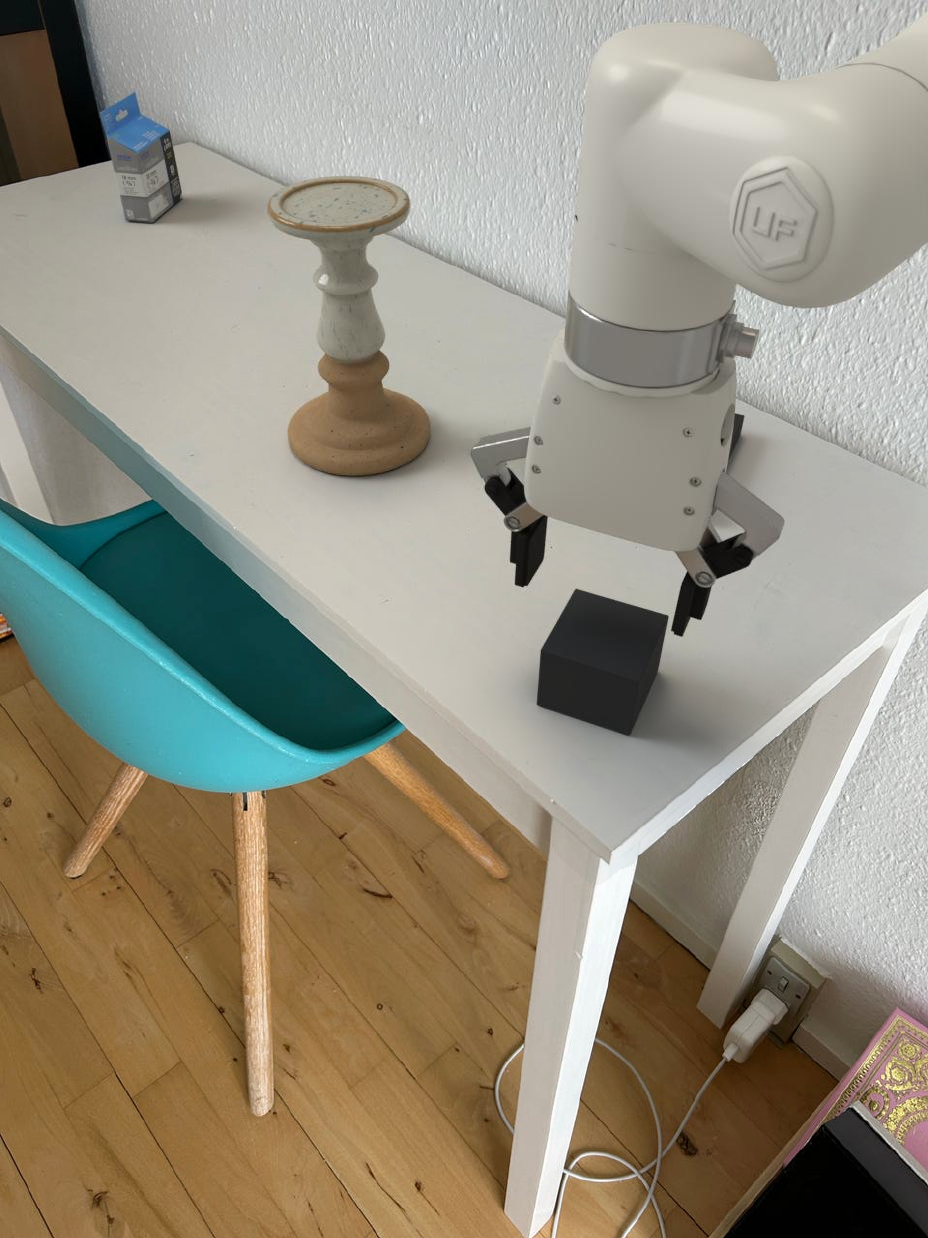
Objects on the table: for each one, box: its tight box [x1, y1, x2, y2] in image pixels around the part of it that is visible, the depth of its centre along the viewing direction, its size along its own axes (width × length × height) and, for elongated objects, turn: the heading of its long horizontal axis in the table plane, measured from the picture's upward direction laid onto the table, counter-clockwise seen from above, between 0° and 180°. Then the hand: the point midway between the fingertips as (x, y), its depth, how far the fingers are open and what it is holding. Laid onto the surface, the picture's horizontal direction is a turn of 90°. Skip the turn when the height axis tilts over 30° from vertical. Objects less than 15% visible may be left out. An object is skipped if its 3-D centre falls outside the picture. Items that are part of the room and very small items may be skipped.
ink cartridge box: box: [99, 91, 184, 224], centre depth 119 cm, size 9×4×12 cm, turn 167°
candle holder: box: [267, 175, 431, 476], centre depth 78 cm, size 12×12×20 cm
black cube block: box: [536, 588, 670, 737], centre depth 61 cm, size 6×6×5 cm
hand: (604, 596), depth 58 cm, fingers open, 9 cm apart
